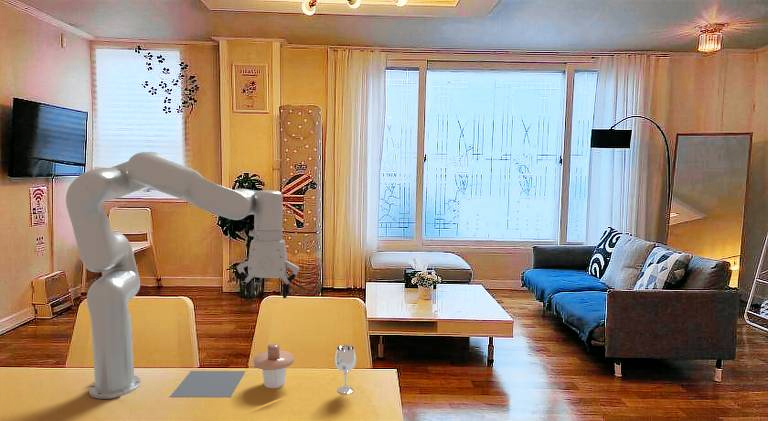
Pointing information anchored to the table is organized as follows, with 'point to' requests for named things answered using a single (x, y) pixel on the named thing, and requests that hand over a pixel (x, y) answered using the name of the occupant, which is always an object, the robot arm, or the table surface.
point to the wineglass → (345, 364)
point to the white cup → (274, 378)
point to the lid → (273, 358)
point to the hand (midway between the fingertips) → (268, 296)
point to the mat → (209, 384)
